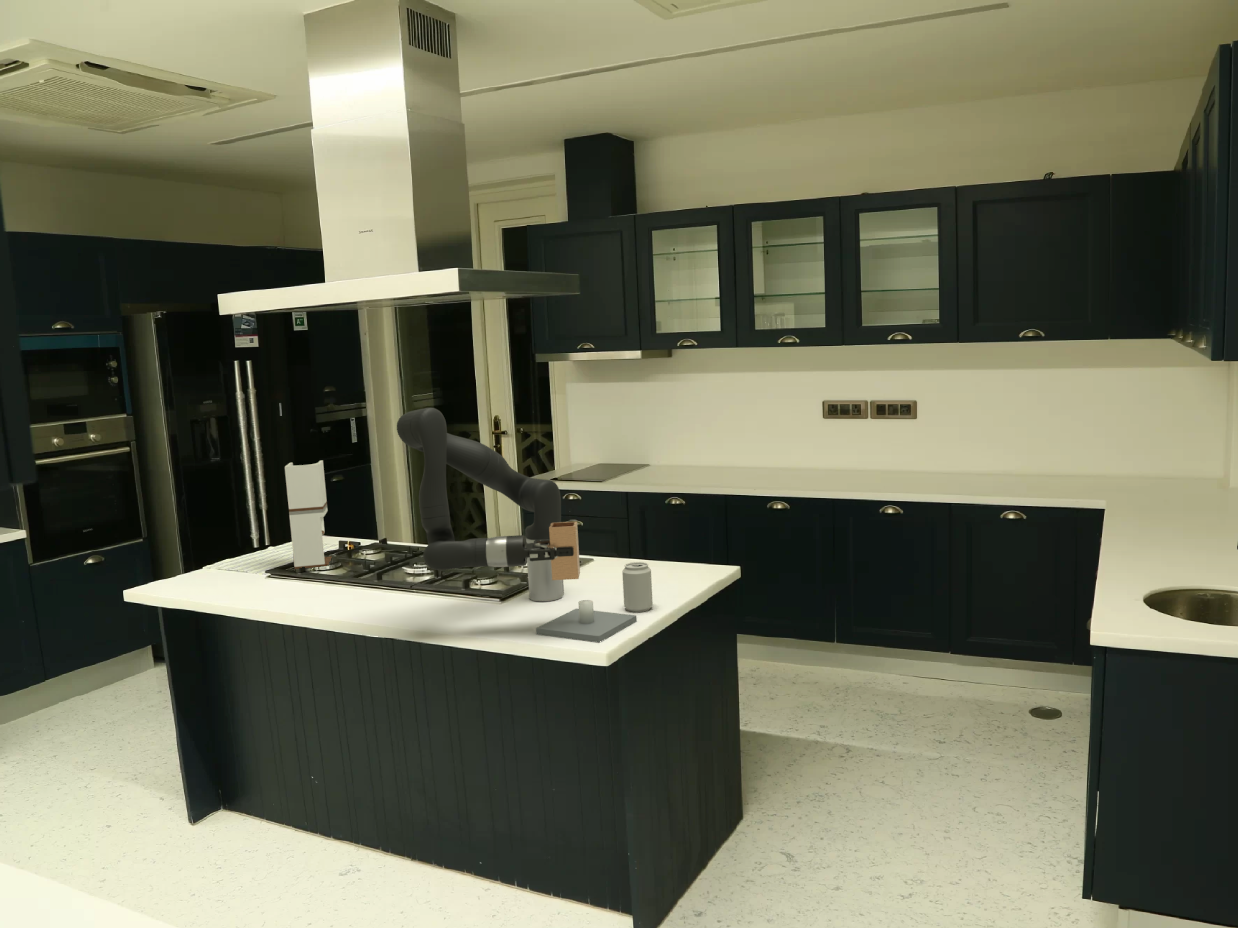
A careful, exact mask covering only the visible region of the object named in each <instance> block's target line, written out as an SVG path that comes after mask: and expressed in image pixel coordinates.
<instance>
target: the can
mask: <svg viewBox="0 0 1238 928" xmlns="http://www.w3.org/2000/svg"><path fill="white" fill-rule="evenodd" d="M652 584H653V583H652V570H651V568H650V567H649V563H647V562H643V561H633V562H629V563H625V564H624V568H623V569H622V589H623V591H622V593H623V607H624V608H625V609H626V610H627V611H628V612H632V613H641V612H642V613H643V612H647V611H649V610H650V609H651V608H652V607H653V603H654V602H653V589H652V587H653V586H652Z"/></svg>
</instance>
